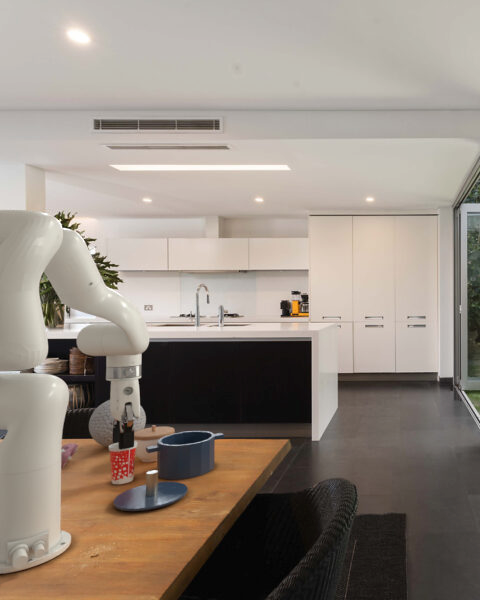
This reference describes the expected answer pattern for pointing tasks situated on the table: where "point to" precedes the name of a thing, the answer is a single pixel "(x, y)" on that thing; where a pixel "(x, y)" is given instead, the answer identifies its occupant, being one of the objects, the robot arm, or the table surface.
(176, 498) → the lid
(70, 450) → the video game controller
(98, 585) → the table surface
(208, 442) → the pot
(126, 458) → the beverage cup
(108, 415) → the decorative ball
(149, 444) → the trinket box
